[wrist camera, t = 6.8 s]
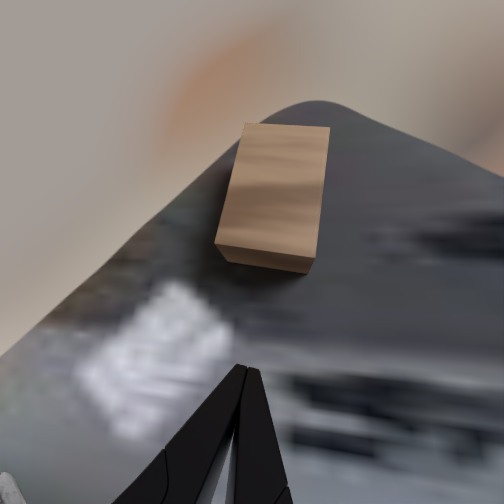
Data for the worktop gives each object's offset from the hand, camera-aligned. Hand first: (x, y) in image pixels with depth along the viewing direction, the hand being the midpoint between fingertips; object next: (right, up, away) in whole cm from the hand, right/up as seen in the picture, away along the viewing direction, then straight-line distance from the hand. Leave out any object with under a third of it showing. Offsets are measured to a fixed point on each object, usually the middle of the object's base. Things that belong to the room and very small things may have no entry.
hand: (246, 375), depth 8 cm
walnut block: (+1, +4, +10) cm, 11 cm away
